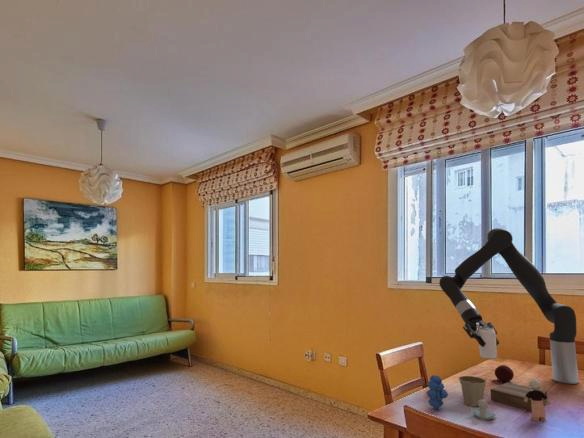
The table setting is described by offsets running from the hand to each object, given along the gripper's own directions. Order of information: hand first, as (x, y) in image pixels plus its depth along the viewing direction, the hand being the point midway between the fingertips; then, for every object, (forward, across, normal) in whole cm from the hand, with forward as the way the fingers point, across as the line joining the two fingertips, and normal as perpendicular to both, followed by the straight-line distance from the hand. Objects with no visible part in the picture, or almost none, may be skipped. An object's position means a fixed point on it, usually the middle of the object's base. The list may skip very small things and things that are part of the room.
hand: (490, 344), depth 159 cm
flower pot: (+20, -20, +5) cm, 29 cm away
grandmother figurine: (+33, -10, -8) cm, 35 cm away
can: (+3, 0, +5) cm, 6 cm away
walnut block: (+22, -2, +2) cm, 23 cm away
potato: (+7, +14, +18) cm, 24 cm away
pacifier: (+29, -26, -3) cm, 39 cm away
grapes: (+22, -36, +3) cm, 43 cm away
